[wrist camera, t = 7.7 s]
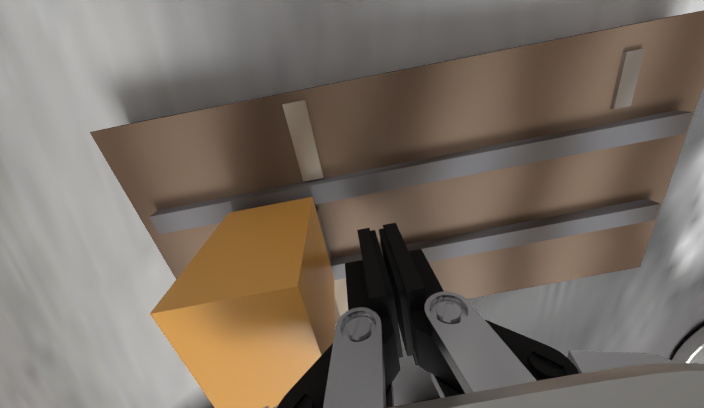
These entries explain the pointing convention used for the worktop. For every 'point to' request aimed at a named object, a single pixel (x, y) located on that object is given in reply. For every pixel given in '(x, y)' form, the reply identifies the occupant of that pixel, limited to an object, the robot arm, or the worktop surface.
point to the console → (444, 158)
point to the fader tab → (254, 305)
